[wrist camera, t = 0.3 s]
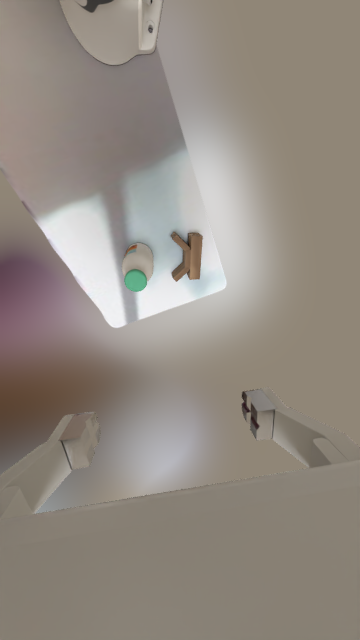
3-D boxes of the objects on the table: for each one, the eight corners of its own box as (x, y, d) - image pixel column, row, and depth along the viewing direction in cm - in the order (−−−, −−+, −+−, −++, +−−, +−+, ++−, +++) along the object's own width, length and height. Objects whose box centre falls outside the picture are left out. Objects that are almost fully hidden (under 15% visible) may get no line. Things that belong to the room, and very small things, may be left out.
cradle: (171, 275, 59) (173, 281, 55) (170, 231, 51) (172, 234, 47) (196, 274, 60) (199, 280, 56) (198, 231, 52) (202, 234, 48)
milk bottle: (147, 238, 52) (146, 258, 35) (156, 264, 56) (159, 292, 40) (121, 247, 52) (109, 270, 36) (132, 272, 56) (125, 303, 40)
